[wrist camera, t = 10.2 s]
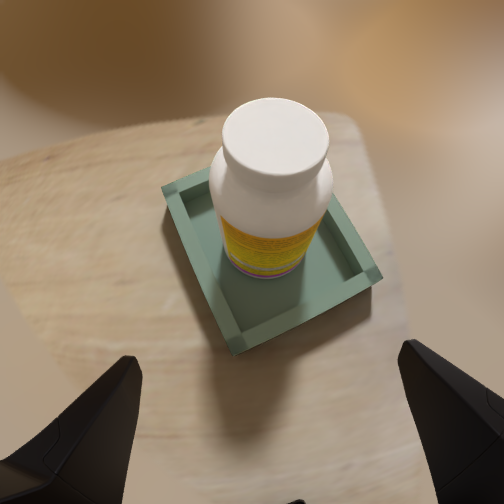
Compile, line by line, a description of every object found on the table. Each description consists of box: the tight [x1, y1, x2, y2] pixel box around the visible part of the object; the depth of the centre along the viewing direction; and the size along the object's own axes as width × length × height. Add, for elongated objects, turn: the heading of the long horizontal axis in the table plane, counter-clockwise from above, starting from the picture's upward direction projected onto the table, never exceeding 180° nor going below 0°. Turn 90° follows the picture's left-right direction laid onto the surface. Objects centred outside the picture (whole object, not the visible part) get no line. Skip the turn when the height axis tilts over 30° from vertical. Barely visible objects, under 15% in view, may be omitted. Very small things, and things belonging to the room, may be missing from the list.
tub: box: [161, 166, 383, 356], centre depth 24 cm, size 14×12×2 cm
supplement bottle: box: [209, 98, 333, 279], centre depth 18 cm, size 7×7×13 cm
